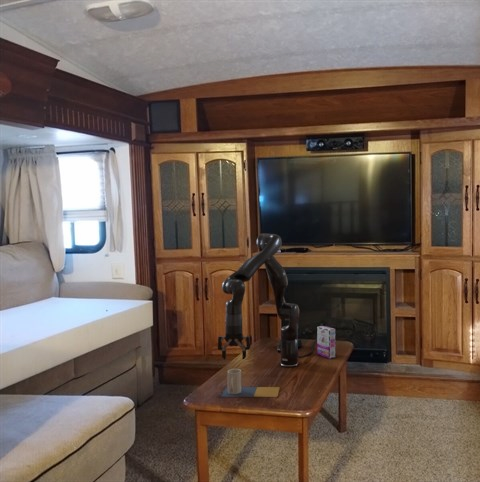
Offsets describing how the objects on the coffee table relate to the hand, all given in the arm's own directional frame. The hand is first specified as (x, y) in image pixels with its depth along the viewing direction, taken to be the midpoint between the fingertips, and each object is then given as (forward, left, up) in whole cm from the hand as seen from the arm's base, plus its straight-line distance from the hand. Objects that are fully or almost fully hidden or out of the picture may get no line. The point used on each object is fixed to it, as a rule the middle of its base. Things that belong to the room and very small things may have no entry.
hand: (234, 358), depth 197 cm
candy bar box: (-53, +42, -16) cm, 69 cm away
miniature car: (-66, +20, -16) cm, 71 cm away
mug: (+1, 0, -15) cm, 15 cm away
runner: (0, +8, -15) cm, 17 cm away
